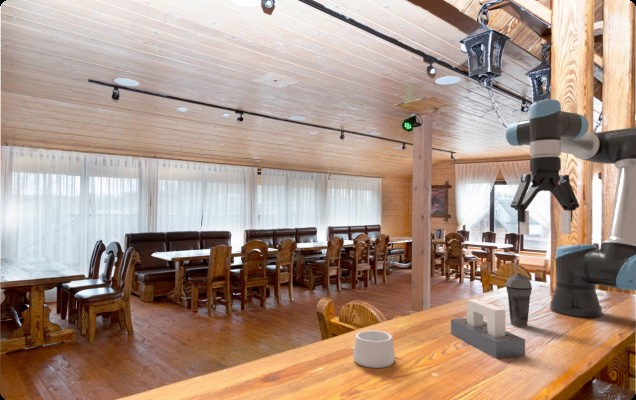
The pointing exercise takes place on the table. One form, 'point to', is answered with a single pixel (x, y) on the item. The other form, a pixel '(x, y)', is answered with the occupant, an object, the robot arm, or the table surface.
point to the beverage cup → (518, 298)
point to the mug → (374, 349)
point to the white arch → (493, 317)
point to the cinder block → (488, 340)
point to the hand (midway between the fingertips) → (545, 234)
